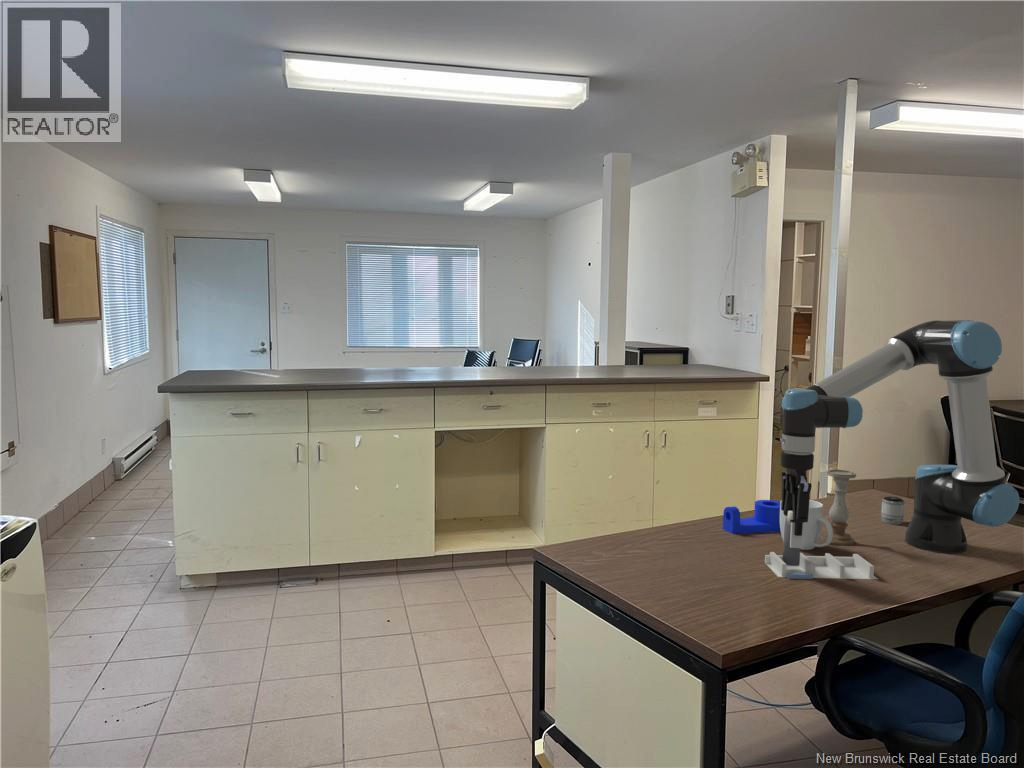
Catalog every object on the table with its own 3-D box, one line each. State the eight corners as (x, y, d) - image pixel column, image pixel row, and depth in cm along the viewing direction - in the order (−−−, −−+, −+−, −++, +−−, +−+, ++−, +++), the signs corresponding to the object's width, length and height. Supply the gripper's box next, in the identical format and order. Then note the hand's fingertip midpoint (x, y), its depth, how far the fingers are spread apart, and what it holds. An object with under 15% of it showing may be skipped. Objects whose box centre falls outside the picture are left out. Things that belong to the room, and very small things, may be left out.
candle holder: (856, 548, 194) (860, 476, 192) (822, 544, 197) (826, 474, 195) (852, 538, 202) (856, 470, 200) (819, 535, 205) (823, 468, 203)
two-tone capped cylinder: (795, 560, 175) (798, 510, 174) (802, 566, 171) (805, 514, 170) (779, 560, 175) (782, 509, 174) (785, 565, 171) (788, 514, 170)
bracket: (772, 522, 218) (773, 498, 218) (791, 531, 210) (793, 506, 209) (718, 527, 212) (719, 503, 212) (736, 536, 204) (737, 511, 203)
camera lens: (876, 519, 222) (877, 495, 222) (894, 519, 223) (896, 495, 222) (889, 525, 216) (890, 500, 215) (907, 524, 217) (909, 500, 216)
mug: (842, 554, 188) (845, 507, 187) (818, 562, 182) (821, 513, 181) (793, 539, 200) (795, 495, 199) (769, 546, 194) (771, 500, 193)
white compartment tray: (859, 568, 178) (859, 553, 177) (879, 584, 167) (880, 568, 167) (764, 566, 178) (765, 551, 178) (779, 582, 168) (780, 566, 167)
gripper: (770, 445, 179) (765, 533, 181) (794, 458, 162) (789, 555, 164) (799, 446, 179) (794, 534, 181) (827, 459, 162) (821, 556, 164)
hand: (792, 544), depth 173 cm, fingers closed on two-tone capped cylinder, 4 cm apart
